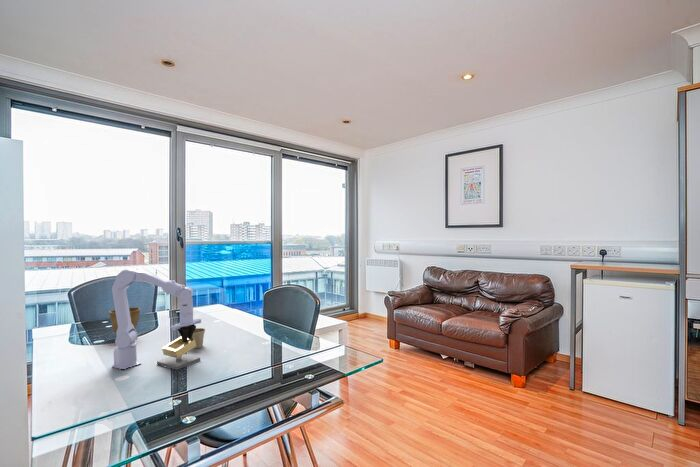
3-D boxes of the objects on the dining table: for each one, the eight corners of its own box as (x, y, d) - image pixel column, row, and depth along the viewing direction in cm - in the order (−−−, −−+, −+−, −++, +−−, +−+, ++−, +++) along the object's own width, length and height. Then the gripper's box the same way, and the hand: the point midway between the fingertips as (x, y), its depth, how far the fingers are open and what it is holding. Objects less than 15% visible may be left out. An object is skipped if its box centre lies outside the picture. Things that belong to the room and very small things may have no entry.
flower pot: (184, 351, 174) (184, 334, 174) (187, 345, 183) (187, 329, 183) (204, 349, 177) (204, 332, 177) (206, 343, 186) (206, 327, 186)
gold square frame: (163, 354, 157) (161, 347, 157) (182, 342, 166) (181, 336, 165) (177, 358, 153) (175, 351, 152) (196, 346, 161) (194, 339, 160)
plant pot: (129, 341, 192) (129, 312, 192) (103, 341, 192) (102, 313, 192) (146, 333, 207) (145, 306, 207) (121, 333, 207) (121, 307, 207)
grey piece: (157, 364, 157) (156, 352, 157) (181, 356, 167) (180, 344, 167) (176, 370, 150) (176, 357, 150) (200, 360, 160) (199, 349, 160)
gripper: (177, 317, 154) (178, 347, 154) (205, 310, 167) (205, 338, 167) (167, 315, 157) (168, 345, 157) (195, 309, 170) (196, 336, 170)
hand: (187, 341), depth 162 cm, fingers closed on gold square frame
